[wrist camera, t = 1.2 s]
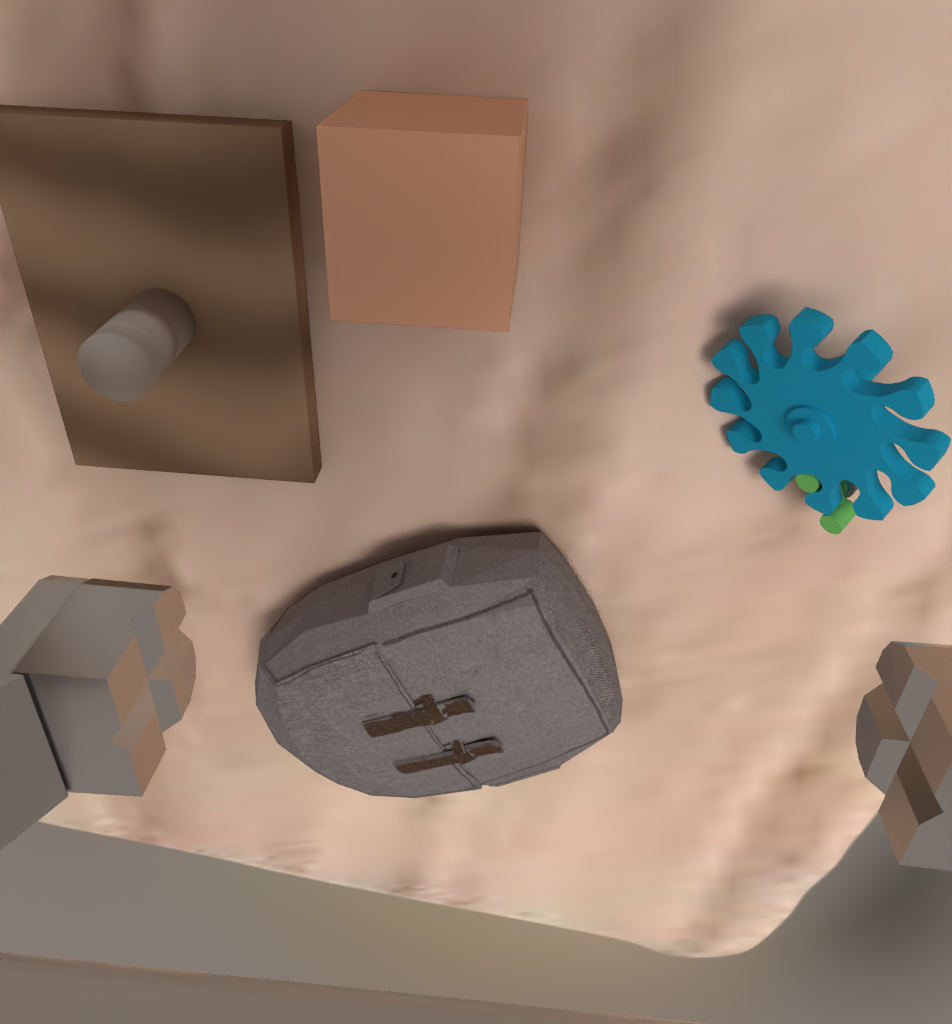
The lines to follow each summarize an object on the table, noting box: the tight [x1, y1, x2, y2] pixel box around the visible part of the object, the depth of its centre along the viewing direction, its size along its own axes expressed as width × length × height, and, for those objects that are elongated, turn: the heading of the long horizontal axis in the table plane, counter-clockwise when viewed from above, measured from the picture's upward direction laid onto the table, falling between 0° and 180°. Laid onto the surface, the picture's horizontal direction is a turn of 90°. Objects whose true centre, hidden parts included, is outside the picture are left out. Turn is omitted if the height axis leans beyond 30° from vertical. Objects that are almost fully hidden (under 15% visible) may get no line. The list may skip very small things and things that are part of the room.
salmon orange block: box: [316, 90, 528, 332], centre depth 30 cm, size 6×6×7 cm
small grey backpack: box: [255, 531, 623, 798], centre depth 44 cm, size 15×8×20 cm
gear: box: [710, 307, 951, 534], centre depth 35 cm, size 11×6×10 cm
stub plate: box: [0, 105, 322, 483], centre depth 35 cm, size 16×12×6 cm
